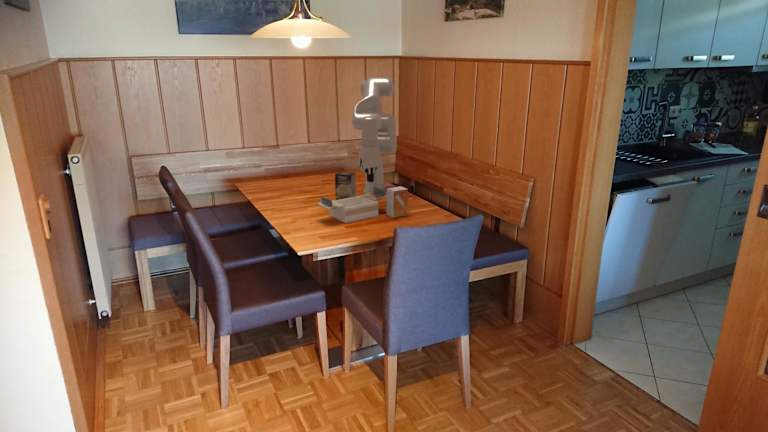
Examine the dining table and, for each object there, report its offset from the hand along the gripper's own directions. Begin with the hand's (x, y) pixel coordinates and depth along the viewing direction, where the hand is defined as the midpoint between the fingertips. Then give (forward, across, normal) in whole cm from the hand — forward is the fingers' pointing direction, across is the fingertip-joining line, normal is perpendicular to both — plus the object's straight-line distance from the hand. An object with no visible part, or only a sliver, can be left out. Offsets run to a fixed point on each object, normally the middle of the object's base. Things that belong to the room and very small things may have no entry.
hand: (370, 181), depth 243 cm
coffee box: (+16, +2, -19) cm, 25 cm away
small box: (+15, -7, +12) cm, 21 cm away
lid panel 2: (+8, -2, +1) cm, 8 cm away
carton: (+15, +10, +1) cm, 18 cm away
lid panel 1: (+7, +23, +1) cm, 24 cm away
